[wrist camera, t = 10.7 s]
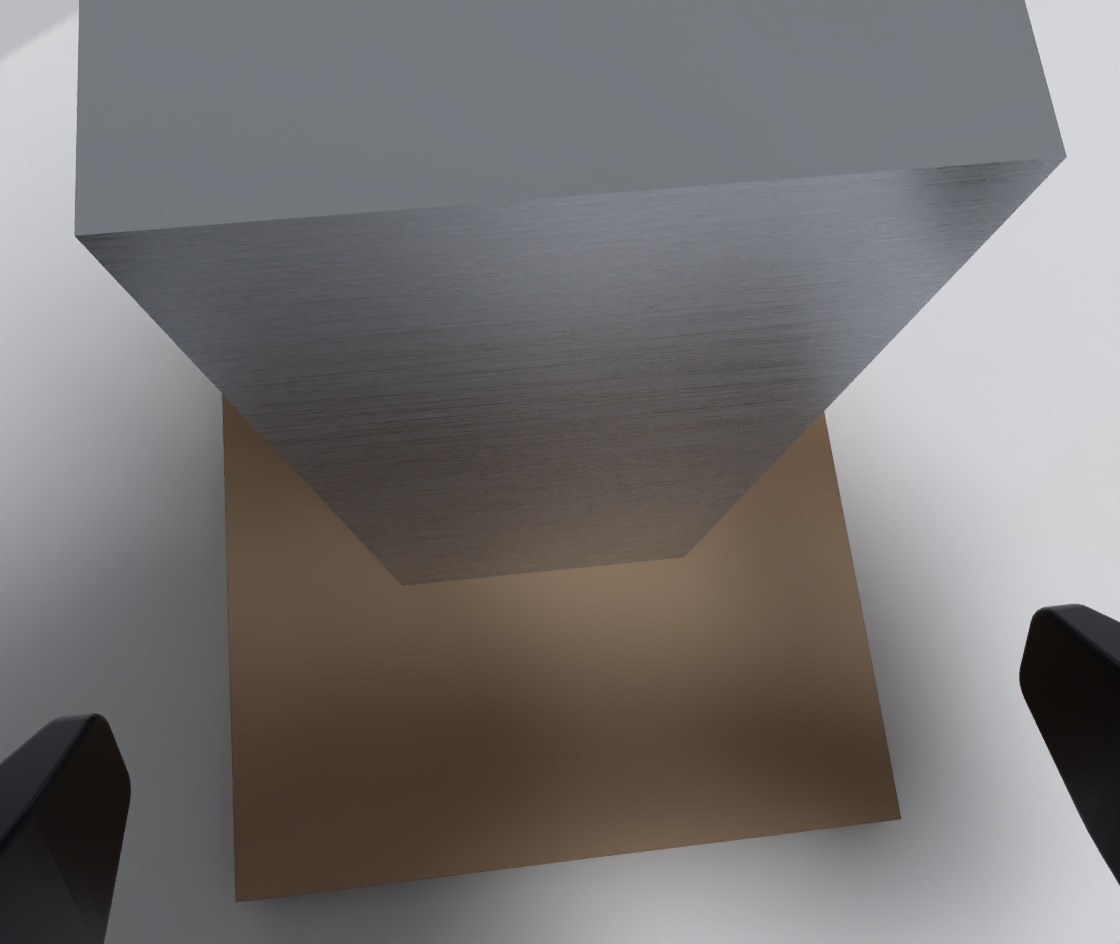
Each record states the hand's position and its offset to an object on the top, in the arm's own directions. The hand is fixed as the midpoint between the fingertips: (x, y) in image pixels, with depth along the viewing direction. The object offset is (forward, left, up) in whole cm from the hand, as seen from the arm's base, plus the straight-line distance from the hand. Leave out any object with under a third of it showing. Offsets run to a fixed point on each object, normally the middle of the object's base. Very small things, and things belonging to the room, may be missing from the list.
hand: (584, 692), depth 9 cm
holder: (+4, -3, -8) cm, 10 cm away
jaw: (+4, -3, -7) cm, 9 cm away
